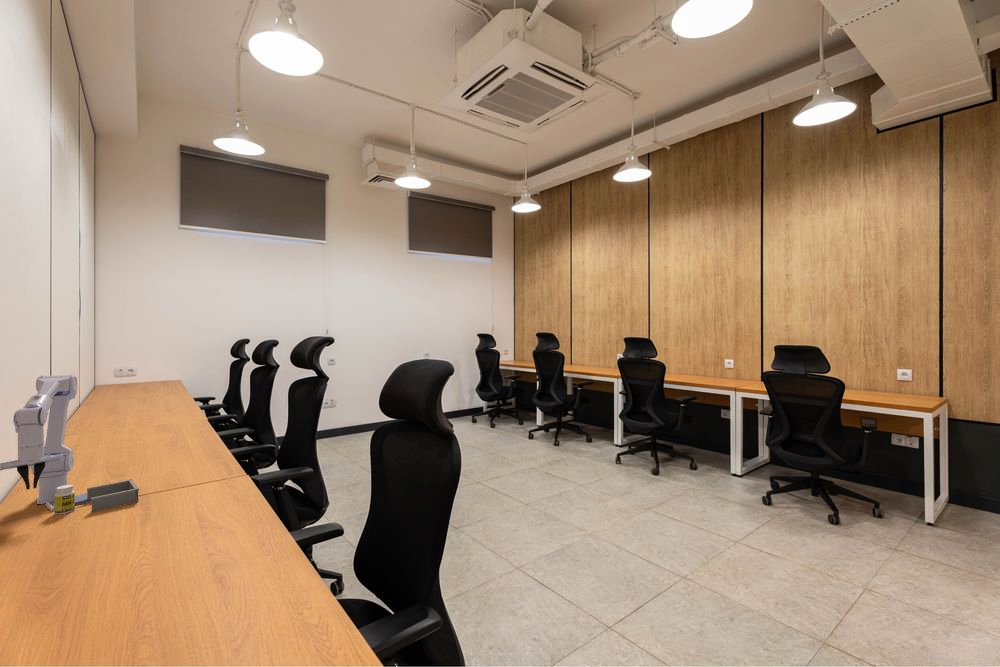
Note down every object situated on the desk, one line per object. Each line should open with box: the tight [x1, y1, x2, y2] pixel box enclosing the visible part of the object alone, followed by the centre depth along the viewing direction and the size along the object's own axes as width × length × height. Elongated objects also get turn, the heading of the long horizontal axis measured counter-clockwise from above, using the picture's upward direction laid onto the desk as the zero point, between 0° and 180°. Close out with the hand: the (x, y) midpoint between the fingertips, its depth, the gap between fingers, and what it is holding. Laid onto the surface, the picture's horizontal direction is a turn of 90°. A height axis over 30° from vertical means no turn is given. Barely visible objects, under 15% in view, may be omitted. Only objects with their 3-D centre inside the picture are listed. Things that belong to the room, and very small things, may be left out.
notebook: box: [45, 493, 91, 511], centre depth 154 cm, size 8×11×1 cm
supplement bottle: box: [54, 484, 76, 515], centre depth 146 cm, size 5×5×8 cm
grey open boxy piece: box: [86, 478, 140, 513], centre depth 155 cm, size 14×12×5 cm
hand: (31, 488), depth 141 cm, fingers closed
